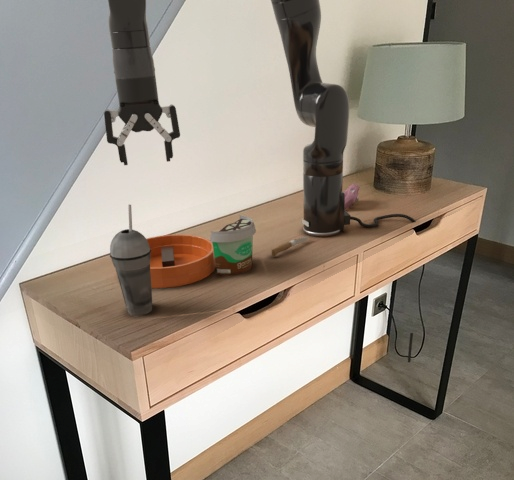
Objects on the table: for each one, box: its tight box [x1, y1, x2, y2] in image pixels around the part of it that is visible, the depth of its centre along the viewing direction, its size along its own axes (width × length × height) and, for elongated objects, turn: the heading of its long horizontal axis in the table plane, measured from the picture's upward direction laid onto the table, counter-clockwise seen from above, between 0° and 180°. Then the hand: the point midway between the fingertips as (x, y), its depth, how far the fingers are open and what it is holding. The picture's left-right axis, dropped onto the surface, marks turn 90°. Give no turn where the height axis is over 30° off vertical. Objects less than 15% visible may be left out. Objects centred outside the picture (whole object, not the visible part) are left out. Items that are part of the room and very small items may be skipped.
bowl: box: [146, 234, 216, 289], centre depth 124 cm, size 20×20×4 cm
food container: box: [209, 214, 257, 277], centre depth 120 cm, size 12×6×10 cm, turn 151°
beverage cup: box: [109, 204, 153, 316], centre depth 103 cm, size 7×7×20 cm
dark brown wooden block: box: [161, 246, 175, 267], centre depth 124 cm, size 5×15×3 cm, turn 9°
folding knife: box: [271, 235, 310, 259], centre depth 132 cm, size 14×2×2 cm, turn 138°
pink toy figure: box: [343, 183, 360, 210], centre depth 158 cm, size 10×5×7 cm, turn 168°
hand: (147, 162), depth 117 cm, fingers open, 8 cm apart
